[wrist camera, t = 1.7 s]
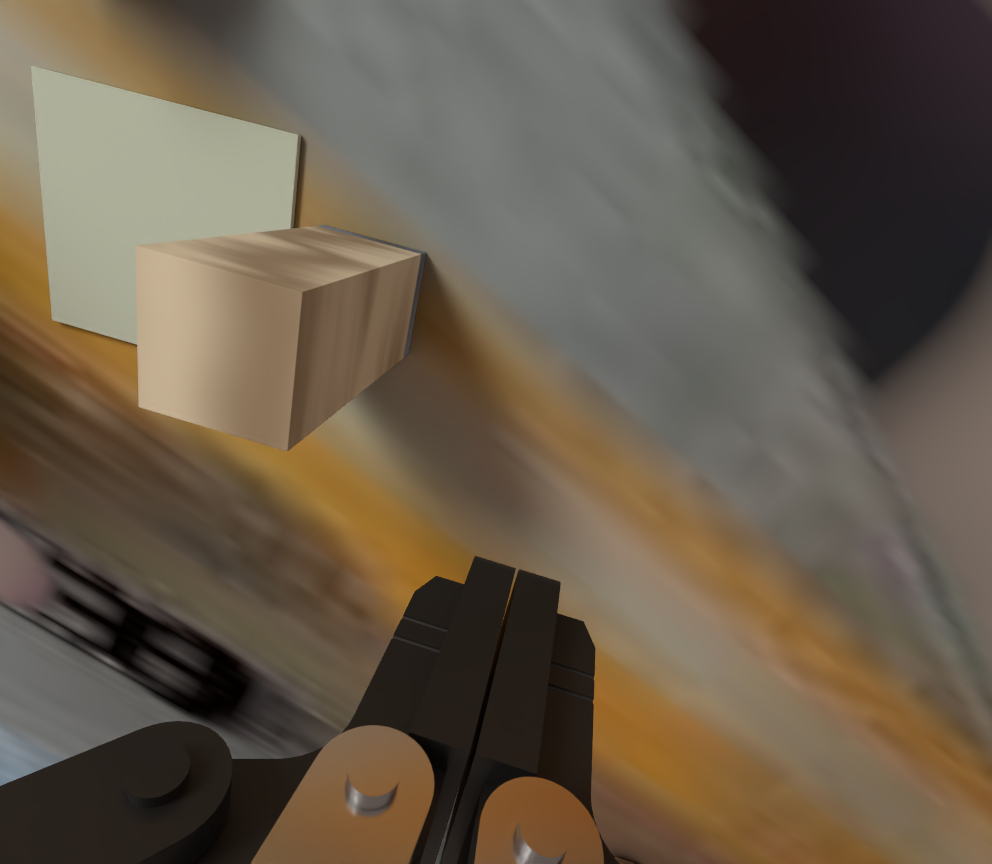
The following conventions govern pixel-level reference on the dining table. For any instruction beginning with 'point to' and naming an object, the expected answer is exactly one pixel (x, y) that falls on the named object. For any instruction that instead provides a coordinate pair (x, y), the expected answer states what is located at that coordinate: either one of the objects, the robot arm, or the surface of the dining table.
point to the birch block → (270, 327)
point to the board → (144, 188)
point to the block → (623, 861)
